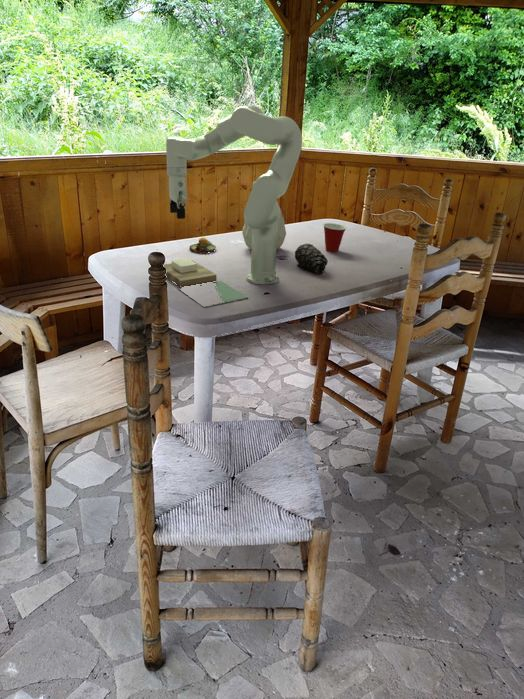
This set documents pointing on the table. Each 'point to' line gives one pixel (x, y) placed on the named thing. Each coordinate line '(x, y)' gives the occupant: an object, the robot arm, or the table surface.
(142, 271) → the table surface
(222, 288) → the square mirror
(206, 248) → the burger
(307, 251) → the pine cone
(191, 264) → the tile
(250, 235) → the vase
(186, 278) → the wooden board
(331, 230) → the plastic cup
